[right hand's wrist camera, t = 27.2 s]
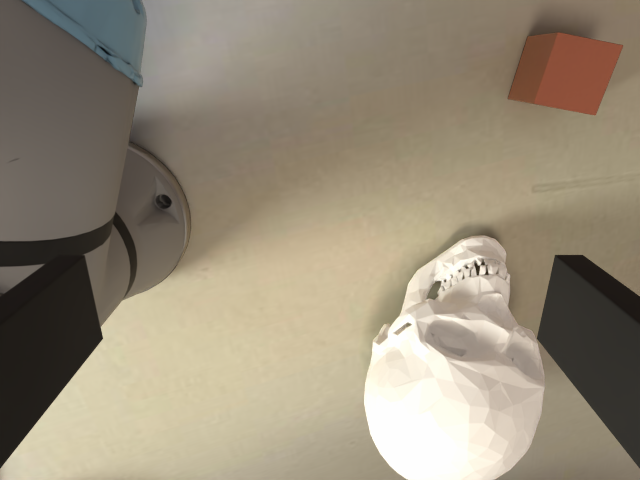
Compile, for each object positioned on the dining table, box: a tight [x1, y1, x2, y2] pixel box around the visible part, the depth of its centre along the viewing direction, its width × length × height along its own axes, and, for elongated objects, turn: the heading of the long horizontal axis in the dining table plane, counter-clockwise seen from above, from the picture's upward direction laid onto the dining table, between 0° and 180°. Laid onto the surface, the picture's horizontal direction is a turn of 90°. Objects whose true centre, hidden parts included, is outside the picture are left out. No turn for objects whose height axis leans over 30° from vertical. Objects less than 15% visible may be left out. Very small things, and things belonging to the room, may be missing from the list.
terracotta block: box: [508, 32, 623, 115], centre depth 35 cm, size 5×5×5 cm
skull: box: [364, 235, 545, 480], centre depth 39 cm, size 13×22×16 cm, turn 165°
